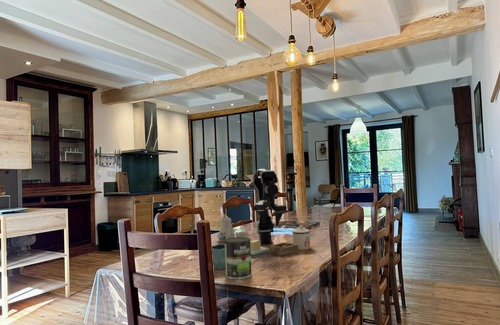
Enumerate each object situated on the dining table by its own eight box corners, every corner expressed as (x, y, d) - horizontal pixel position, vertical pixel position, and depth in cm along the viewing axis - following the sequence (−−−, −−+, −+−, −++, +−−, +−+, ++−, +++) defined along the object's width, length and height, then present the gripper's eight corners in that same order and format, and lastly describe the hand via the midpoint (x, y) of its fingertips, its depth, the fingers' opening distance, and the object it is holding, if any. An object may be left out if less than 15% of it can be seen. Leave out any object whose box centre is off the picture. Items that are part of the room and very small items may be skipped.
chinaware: (254, 243, 198) (255, 215, 200) (230, 245, 189) (231, 215, 191) (230, 237, 221) (231, 212, 223) (207, 239, 212) (208, 212, 214)
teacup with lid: (308, 250, 167) (306, 227, 168) (290, 249, 171) (289, 226, 171) (314, 245, 178) (313, 223, 178) (297, 244, 182) (296, 223, 182)
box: (269, 254, 163) (269, 246, 164) (284, 250, 171) (283, 242, 171) (283, 256, 157) (283, 248, 157) (298, 252, 165) (297, 244, 165)
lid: (241, 253, 165) (240, 242, 165) (256, 249, 173) (256, 238, 173) (253, 256, 159) (253, 244, 159) (269, 251, 166) (268, 240, 166)
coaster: (238, 254, 166) (238, 253, 166) (255, 250, 174) (255, 248, 174) (255, 258, 157) (255, 256, 157) (272, 253, 166) (272, 251, 166)
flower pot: (206, 268, 144) (205, 247, 144) (222, 263, 150) (221, 243, 151) (219, 271, 138) (218, 249, 138) (235, 266, 144) (234, 245, 144)
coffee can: (256, 276, 129) (254, 239, 130) (232, 281, 124) (230, 243, 125) (244, 270, 138) (243, 235, 139) (221, 274, 133) (220, 239, 134)
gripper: (245, 195, 175) (246, 225, 174) (271, 196, 161) (273, 228, 161) (260, 194, 182) (261, 222, 182) (286, 194, 169) (288, 225, 168)
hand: (270, 224), depth 173 cm, fingers open, 9 cm apart
